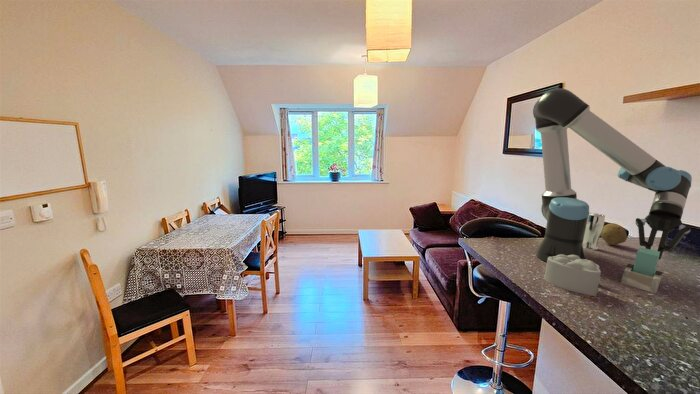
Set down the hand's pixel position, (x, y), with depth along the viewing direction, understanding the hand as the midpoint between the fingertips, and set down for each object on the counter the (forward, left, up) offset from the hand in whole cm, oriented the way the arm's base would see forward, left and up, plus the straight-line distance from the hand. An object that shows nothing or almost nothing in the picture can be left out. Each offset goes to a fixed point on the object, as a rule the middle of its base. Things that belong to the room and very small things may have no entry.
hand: (649, 265), depth 91 cm
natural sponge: (+10, +42, -6) cm, 43 cm away
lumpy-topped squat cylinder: (-25, -10, -6) cm, 28 cm away
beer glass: (-2, +33, -6) cm, 33 cm away
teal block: (-3, -3, -5) cm, 6 cm away
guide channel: (-3, -3, -6) cm, 7 cm away
